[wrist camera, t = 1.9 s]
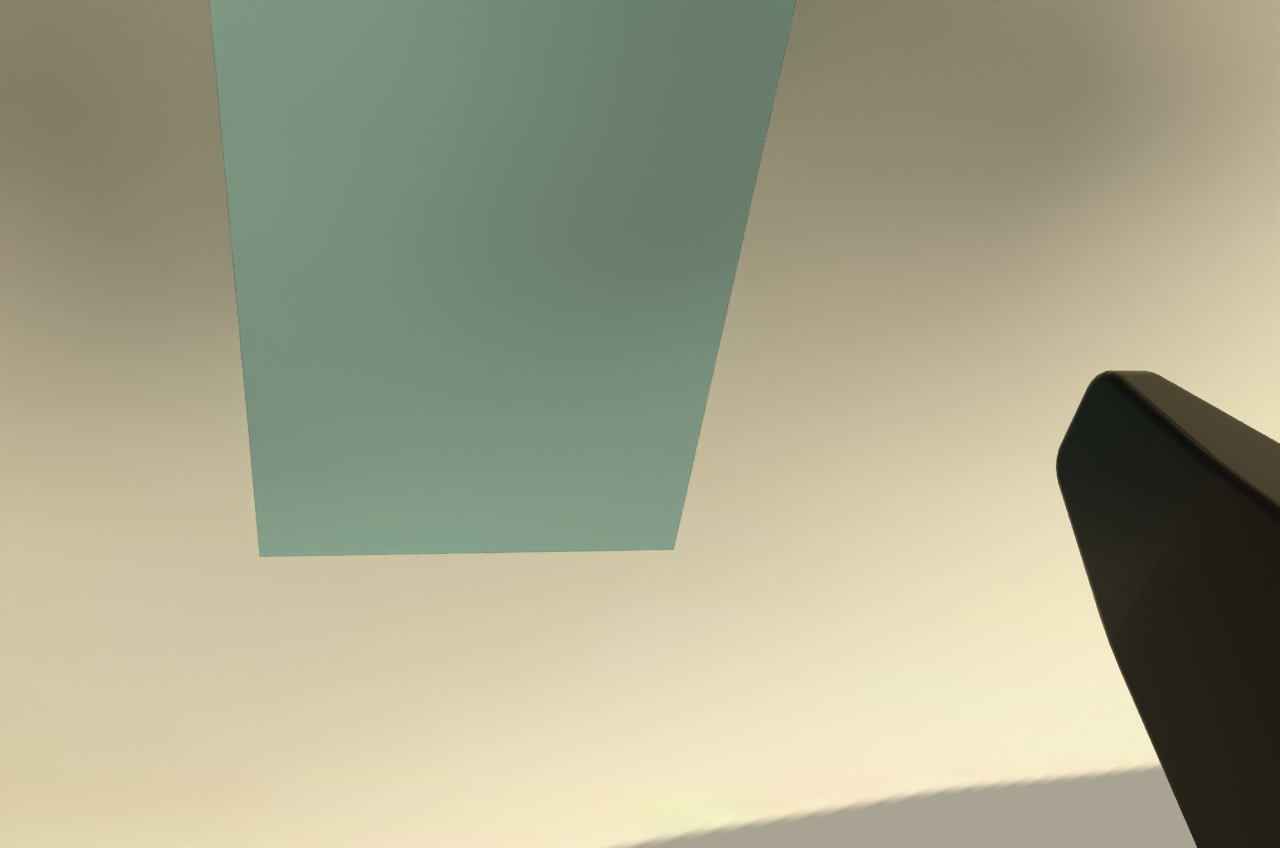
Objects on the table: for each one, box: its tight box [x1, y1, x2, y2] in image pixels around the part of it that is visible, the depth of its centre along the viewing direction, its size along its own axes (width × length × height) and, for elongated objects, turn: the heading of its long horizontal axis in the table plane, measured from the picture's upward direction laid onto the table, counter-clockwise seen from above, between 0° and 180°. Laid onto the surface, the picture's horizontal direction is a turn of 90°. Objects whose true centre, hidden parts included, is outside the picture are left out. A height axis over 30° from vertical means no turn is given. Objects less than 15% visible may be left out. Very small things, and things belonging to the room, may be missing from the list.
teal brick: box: [209, 0, 796, 557], centre depth 13 cm, size 10×5×4 cm, turn 172°
